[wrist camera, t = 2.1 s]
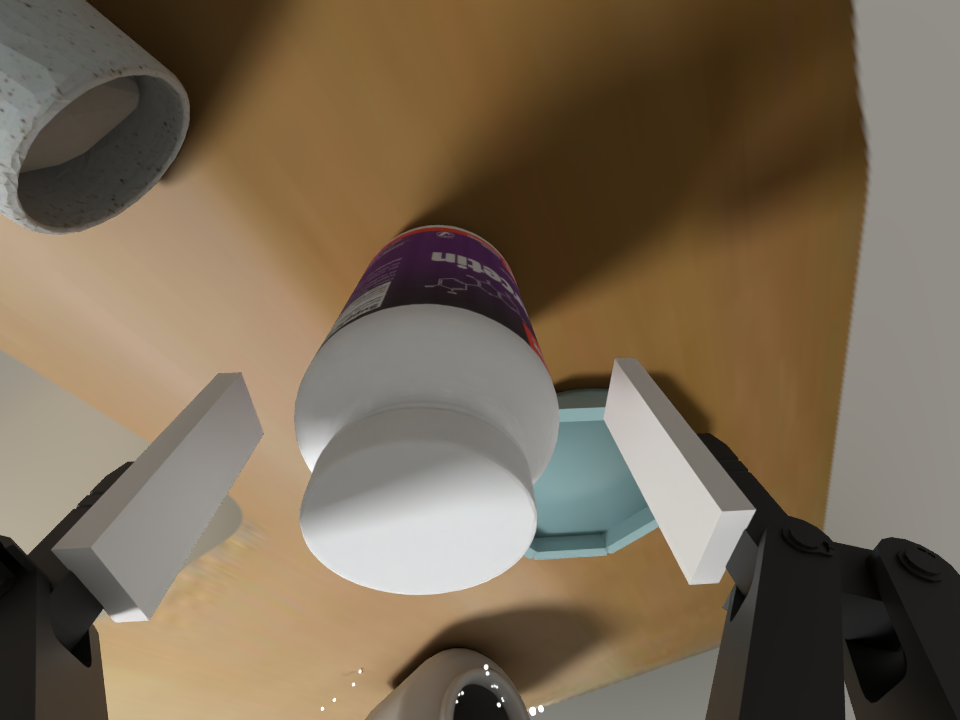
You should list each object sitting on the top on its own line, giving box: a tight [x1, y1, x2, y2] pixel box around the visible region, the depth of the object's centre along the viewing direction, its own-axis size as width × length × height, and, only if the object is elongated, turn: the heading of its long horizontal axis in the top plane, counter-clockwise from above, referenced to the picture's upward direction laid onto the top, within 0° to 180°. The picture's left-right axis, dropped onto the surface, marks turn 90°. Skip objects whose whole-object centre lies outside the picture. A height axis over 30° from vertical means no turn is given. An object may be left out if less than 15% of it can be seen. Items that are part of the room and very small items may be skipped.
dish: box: [523, 388, 659, 560], centre depth 28 cm, size 15×15×2 cm
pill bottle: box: [294, 225, 559, 595], centre depth 15 cm, size 8×8×14 cm
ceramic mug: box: [0, 0, 190, 235], centre depth 13 cm, size 10×8×7 cm
